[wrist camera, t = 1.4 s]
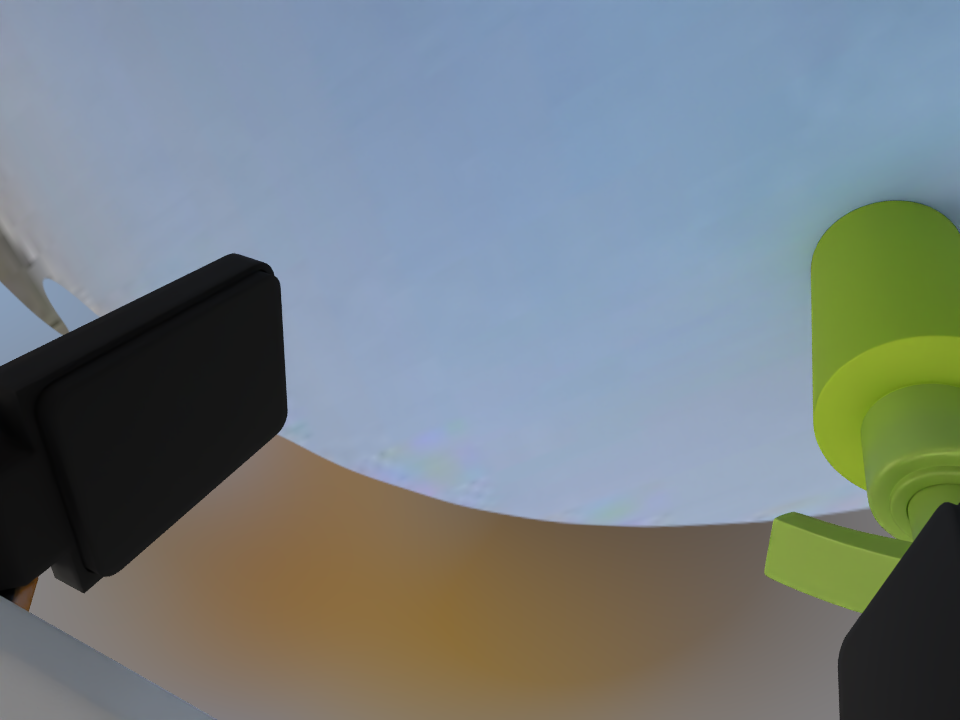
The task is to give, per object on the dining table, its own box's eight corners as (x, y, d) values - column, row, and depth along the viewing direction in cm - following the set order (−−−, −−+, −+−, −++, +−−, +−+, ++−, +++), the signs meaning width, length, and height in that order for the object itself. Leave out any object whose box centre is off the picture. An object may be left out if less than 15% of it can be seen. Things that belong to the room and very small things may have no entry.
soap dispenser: (796, 197, 30) (785, 461, 14) (981, 202, 27) (1229, 536, 11) (778, 315, 32) (752, 646, 17) (944, 330, 30) (1099, 740, 14)
